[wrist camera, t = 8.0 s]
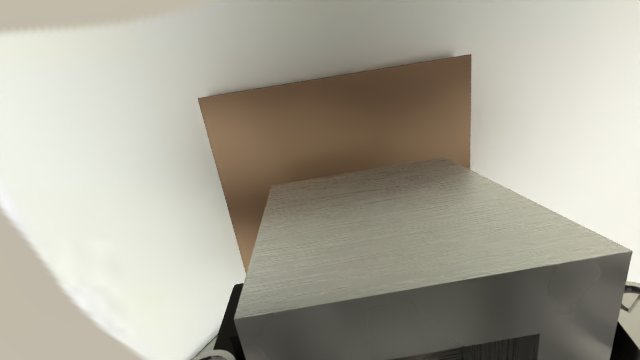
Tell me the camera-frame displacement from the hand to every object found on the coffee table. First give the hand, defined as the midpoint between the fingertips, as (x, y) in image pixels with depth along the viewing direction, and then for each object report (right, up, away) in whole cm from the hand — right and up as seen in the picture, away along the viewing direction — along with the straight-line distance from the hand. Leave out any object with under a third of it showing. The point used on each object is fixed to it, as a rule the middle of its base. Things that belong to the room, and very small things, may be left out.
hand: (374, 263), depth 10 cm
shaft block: (0, +2, +6) cm, 6 cm away
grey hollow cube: (0, 0, +1) cm, 1 cm away
